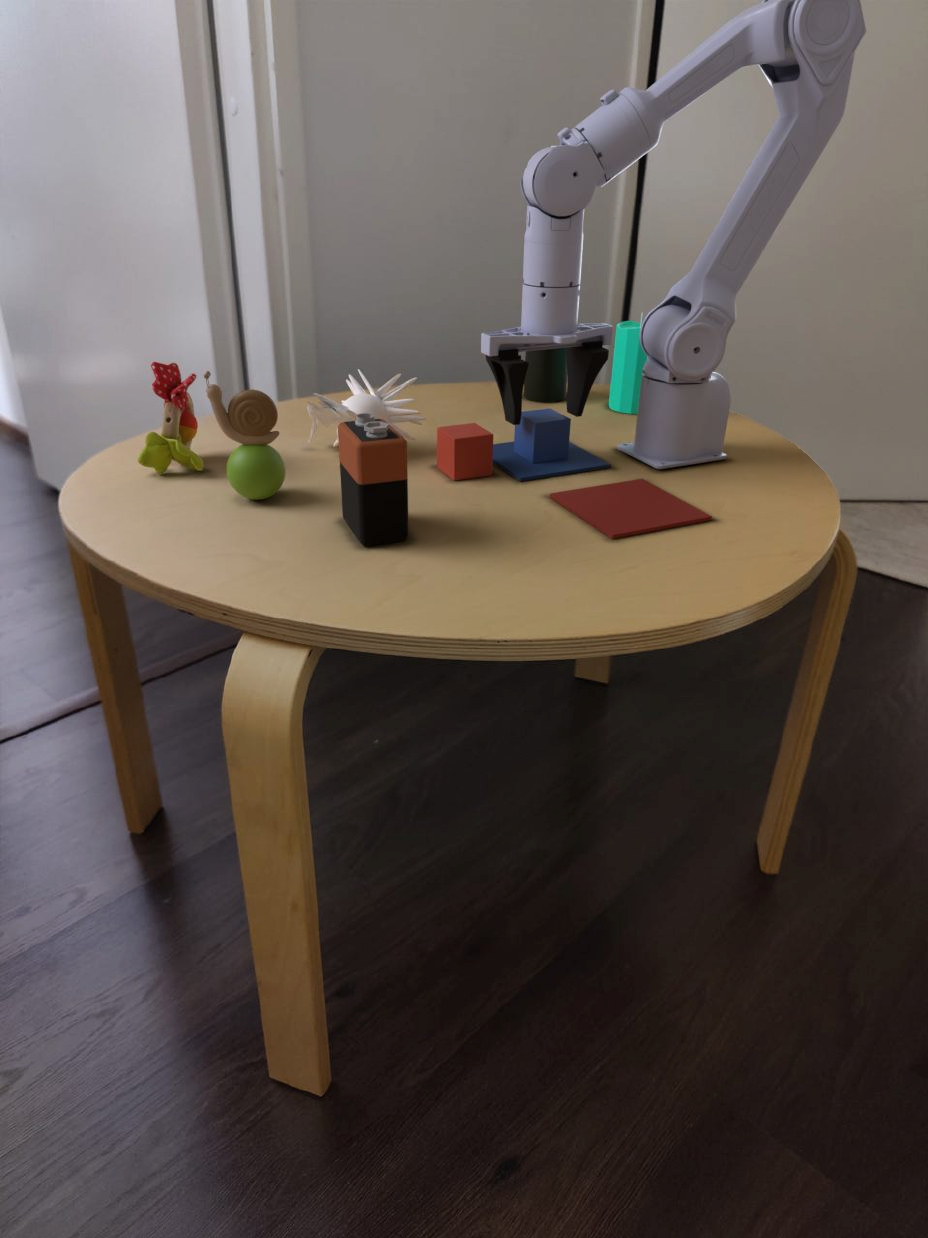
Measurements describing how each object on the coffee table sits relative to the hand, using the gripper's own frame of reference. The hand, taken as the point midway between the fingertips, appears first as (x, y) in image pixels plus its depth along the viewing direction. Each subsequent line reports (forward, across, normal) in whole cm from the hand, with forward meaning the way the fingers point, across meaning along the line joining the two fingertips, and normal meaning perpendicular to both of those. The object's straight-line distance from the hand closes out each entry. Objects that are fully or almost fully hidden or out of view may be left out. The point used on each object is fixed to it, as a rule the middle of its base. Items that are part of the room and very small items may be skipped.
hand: (543, 418), depth 92 cm
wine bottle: (+5, +13, +22) cm, 27 cm away
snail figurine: (+4, -32, 0) cm, 32 cm away
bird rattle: (+4, -37, +12) cm, 39 cm away
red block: (+4, -10, 0) cm, 11 cm away
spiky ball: (+5, -18, +10) cm, 21 cm away
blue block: (+4, 0, 0) cm, 4 cm away
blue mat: (+4, 0, 0) cm, 5 cm away
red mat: (+4, 0, -16) cm, 17 cm away
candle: (+5, +21, +14) cm, 26 cm away
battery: (+5, -24, -12) cm, 27 cm away
